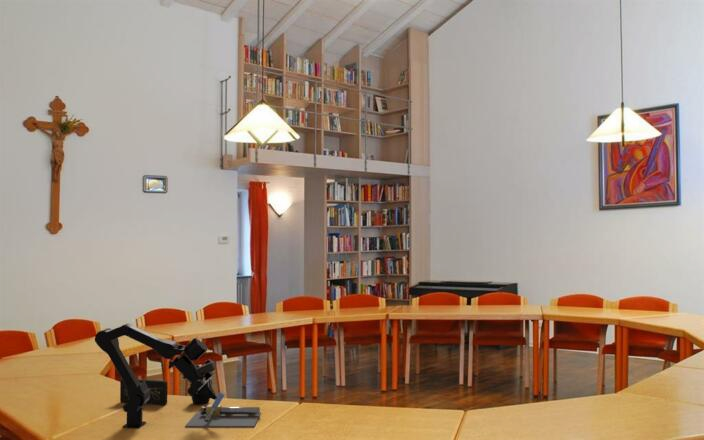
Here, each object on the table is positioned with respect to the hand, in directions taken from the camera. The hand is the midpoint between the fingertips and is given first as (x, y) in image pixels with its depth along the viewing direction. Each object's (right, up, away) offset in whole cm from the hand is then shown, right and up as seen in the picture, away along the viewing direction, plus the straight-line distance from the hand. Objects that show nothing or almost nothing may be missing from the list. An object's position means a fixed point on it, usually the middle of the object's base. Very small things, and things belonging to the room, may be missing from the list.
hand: (216, 398), depth 235 cm
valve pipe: (+3, -10, +7) cm, 12 cm away
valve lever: (-3, -8, 0) cm, 8 cm away
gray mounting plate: (+2, -10, +7) cm, 12 cm away
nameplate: (-38, -11, +31) cm, 50 cm away
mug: (-14, -11, +30) cm, 35 cm away
